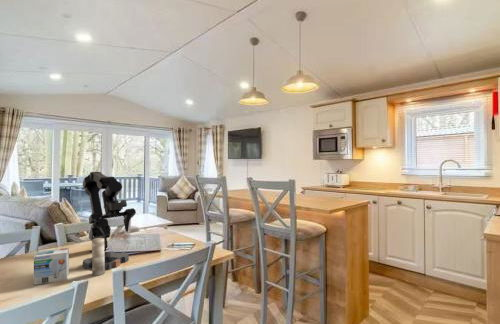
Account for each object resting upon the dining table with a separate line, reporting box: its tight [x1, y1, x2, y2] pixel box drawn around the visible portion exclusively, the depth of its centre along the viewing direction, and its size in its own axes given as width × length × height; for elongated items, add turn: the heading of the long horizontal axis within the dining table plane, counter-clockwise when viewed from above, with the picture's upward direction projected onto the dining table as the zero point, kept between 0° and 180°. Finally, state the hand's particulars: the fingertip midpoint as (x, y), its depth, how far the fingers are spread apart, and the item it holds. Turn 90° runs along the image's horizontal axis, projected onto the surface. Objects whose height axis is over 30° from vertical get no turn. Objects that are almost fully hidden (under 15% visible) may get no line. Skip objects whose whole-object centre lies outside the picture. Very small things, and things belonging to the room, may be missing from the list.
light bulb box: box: [33, 247, 70, 286], centre depth 110 cm, size 11×7×11 cm, turn 117°
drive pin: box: [91, 238, 106, 277], centre depth 115 cm, size 4×4×14 cm
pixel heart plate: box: [82, 250, 130, 271], centre depth 127 cm, size 15×15×2 cm
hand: (116, 233), depth 126 cm, fingers open, 9 cm apart
